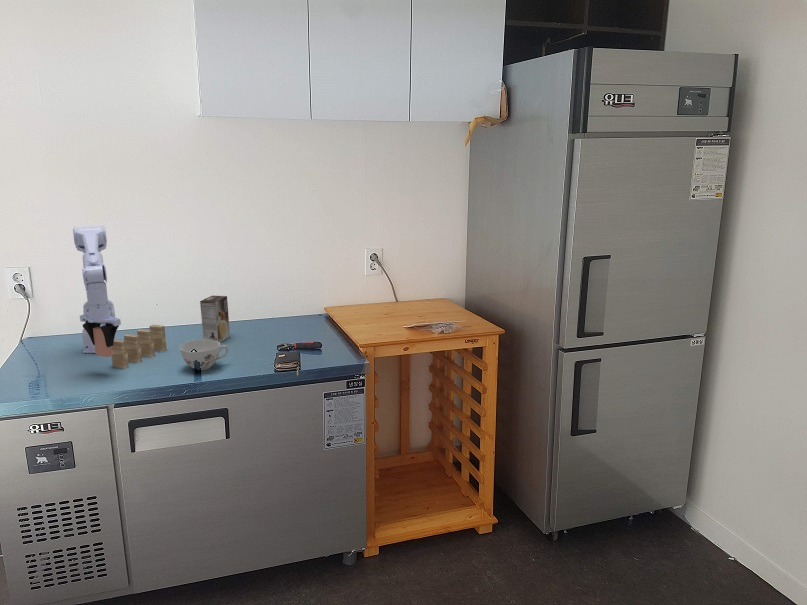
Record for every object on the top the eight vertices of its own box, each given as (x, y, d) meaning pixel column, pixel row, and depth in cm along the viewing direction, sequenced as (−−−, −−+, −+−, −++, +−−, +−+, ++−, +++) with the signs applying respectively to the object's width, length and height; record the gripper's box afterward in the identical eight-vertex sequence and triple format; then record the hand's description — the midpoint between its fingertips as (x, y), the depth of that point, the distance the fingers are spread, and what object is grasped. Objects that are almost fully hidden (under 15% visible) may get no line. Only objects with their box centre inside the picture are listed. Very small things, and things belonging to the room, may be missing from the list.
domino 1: (124, 368, 203) (121, 342, 200) (112, 366, 204) (109, 340, 202) (128, 366, 204) (125, 340, 202) (116, 364, 206) (113, 339, 204)
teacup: (183, 376, 196) (181, 352, 194) (179, 364, 207) (177, 341, 205) (232, 370, 202) (230, 346, 200) (226, 358, 213) (224, 336, 211)
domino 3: (151, 357, 213) (148, 332, 211) (139, 355, 215) (136, 330, 213) (154, 355, 215) (152, 330, 213) (143, 353, 217) (140, 329, 215)
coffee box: (215, 335, 238) (212, 294, 234) (230, 336, 236) (227, 295, 232) (202, 342, 229) (199, 300, 225) (218, 344, 228) (215, 301, 224)
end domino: (108, 357, 196) (105, 329, 193) (96, 355, 197) (92, 328, 195) (112, 355, 197) (109, 328, 195) (100, 353, 199) (97, 326, 197)
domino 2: (138, 362, 208) (135, 337, 206) (126, 360, 210) (123, 335, 207) (142, 360, 210) (139, 335, 207) (130, 359, 211) (127, 333, 209)
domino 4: (163, 351, 219) (160, 327, 217) (151, 350, 221) (149, 325, 218) (166, 350, 221) (164, 326, 218) (155, 348, 222) (153, 324, 220)
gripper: (69, 304, 192) (75, 346, 195) (106, 308, 187) (111, 351, 190) (88, 299, 198) (93, 339, 202) (123, 303, 193) (128, 344, 197)
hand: (103, 345), depth 196 cm, fingers closed on end domino, 5 cm apart
